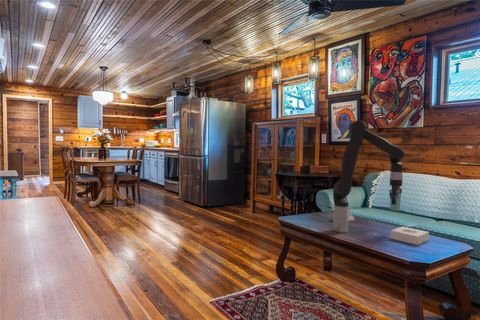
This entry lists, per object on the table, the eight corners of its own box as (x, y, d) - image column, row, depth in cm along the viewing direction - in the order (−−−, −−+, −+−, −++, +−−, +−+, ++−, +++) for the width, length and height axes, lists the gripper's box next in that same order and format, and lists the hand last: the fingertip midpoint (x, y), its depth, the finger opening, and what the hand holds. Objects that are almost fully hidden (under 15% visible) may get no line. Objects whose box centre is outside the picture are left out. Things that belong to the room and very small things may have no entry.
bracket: (397, 210, 205) (398, 194, 204) (389, 209, 209) (390, 193, 208) (400, 209, 207) (400, 193, 207) (392, 208, 211) (393, 192, 211)
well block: (417, 244, 183) (418, 236, 182) (390, 238, 195) (390, 230, 195) (428, 239, 193) (428, 231, 193) (401, 233, 205) (402, 226, 205)
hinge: (341, 222, 234) (338, 209, 236) (336, 223, 237) (333, 210, 240) (355, 219, 243) (351, 206, 245) (350, 220, 247) (347, 208, 249)
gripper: (395, 177, 214) (394, 202, 215) (385, 178, 205) (384, 204, 206) (406, 178, 209) (405, 203, 210) (397, 179, 200) (396, 206, 201)
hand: (395, 204), depth 208 cm, fingers closed on bracket, 4 cm apart
